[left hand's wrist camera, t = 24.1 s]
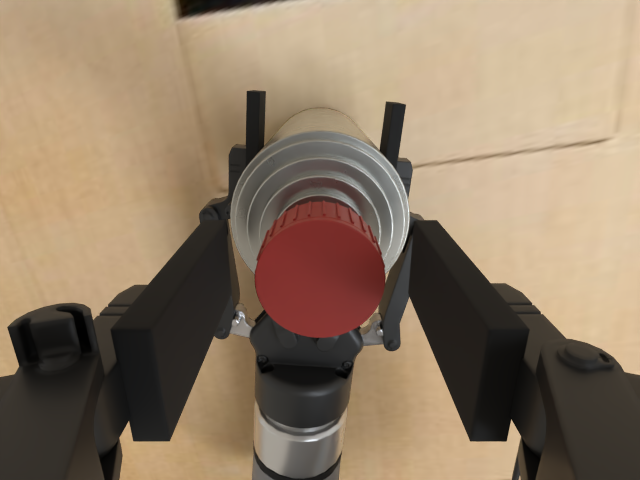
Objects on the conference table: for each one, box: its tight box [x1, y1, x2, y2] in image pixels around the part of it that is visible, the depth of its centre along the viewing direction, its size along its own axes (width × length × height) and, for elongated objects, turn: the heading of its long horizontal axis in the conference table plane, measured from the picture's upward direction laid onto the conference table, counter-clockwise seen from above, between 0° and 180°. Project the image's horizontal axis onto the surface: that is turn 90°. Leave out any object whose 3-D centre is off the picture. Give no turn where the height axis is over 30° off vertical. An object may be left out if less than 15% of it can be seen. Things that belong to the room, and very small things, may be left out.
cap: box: [255, 201, 385, 338], centre depth 13 cm, size 4×4×2 cm
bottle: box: [230, 108, 410, 274], centre depth 23 cm, size 8×8×22 cm
